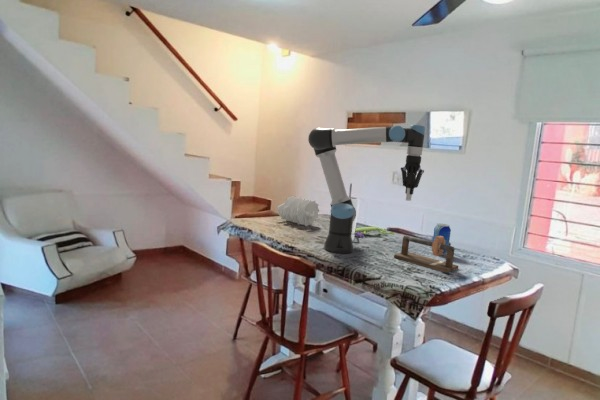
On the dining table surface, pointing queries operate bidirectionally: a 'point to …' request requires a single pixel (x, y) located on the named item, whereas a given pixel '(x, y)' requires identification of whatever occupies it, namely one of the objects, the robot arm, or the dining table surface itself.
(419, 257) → the pipe stand
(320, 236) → the dining table surface
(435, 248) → the ring
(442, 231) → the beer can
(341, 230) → the robot arm
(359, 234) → the figurine
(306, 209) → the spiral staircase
